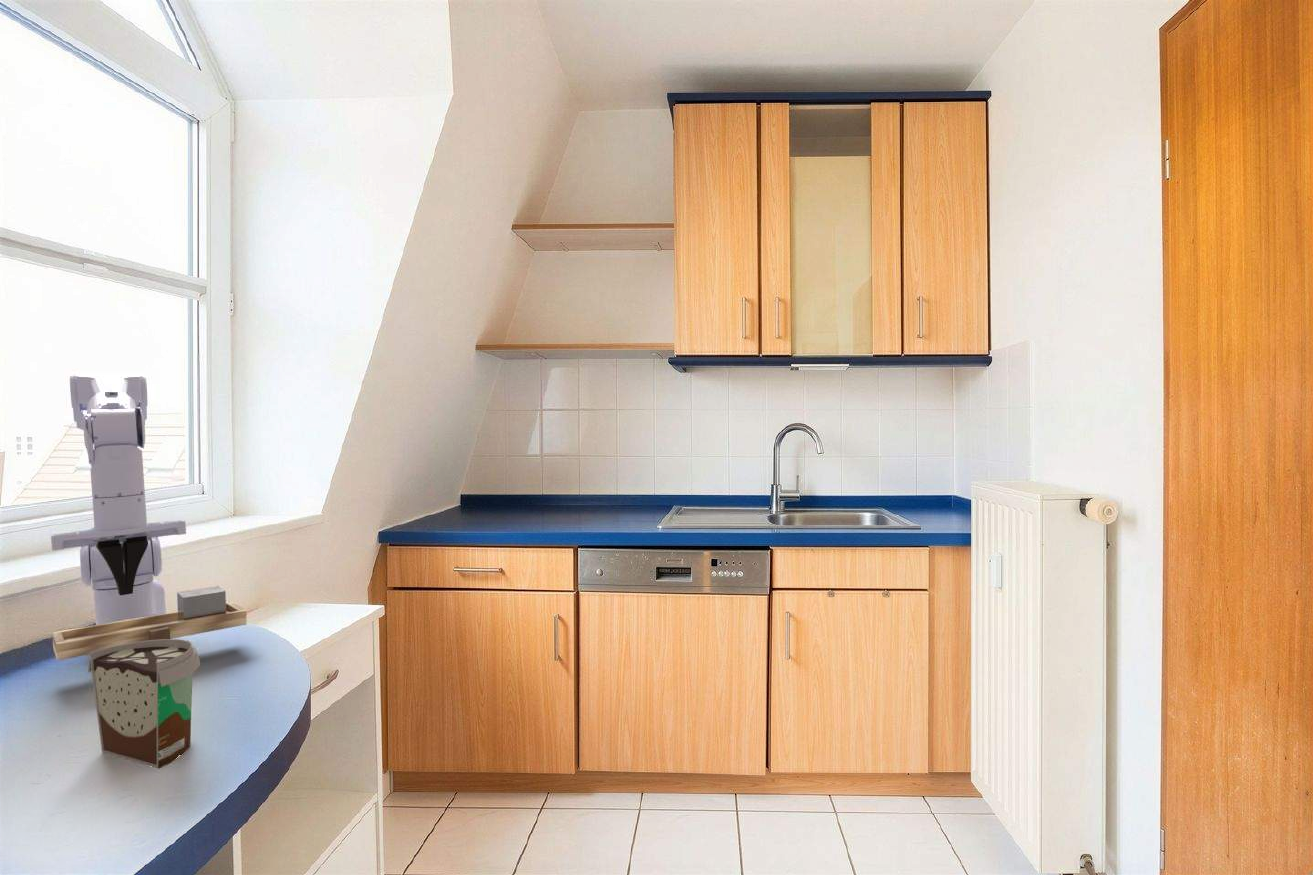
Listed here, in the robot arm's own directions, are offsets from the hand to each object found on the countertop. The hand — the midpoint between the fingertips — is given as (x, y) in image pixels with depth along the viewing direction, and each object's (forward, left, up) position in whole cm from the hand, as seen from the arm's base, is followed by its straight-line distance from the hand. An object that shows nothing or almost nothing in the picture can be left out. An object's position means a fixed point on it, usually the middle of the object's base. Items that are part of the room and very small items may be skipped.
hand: (125, 593), depth 94 cm
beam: (+2, +4, -5) cm, 7 cm away
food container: (+29, +19, -10) cm, 37 cm away
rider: (-1, +9, -5) cm, 10 cm away
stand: (+2, +4, -10) cm, 11 cm away
